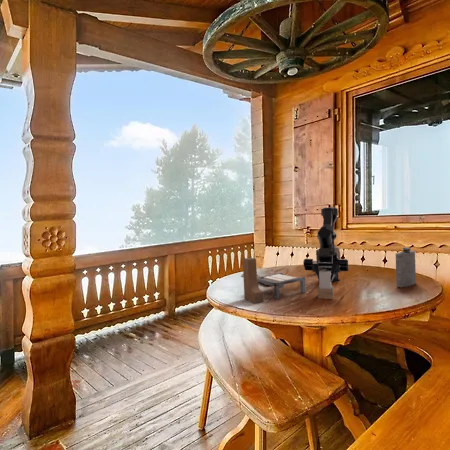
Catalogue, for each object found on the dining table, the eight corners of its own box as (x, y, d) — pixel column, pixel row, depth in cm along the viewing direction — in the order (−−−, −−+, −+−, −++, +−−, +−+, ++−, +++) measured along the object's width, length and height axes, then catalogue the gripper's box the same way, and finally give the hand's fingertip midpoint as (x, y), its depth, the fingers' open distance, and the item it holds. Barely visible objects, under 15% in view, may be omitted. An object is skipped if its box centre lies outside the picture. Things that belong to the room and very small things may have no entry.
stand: (319, 294, 139) (319, 285, 138) (333, 295, 136) (333, 286, 136) (318, 298, 133) (317, 289, 133) (332, 299, 131) (332, 289, 131)
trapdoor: (278, 287, 137) (278, 281, 137) (261, 283, 147) (261, 277, 147) (297, 283, 144) (297, 277, 143) (279, 279, 154) (279, 273, 154)
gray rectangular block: (320, 286, 137) (320, 270, 137) (331, 286, 136) (330, 270, 135) (319, 288, 133) (319, 272, 133) (330, 289, 132) (330, 272, 131)
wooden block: (264, 301, 132) (262, 259, 131) (255, 303, 130) (253, 260, 129) (252, 297, 140) (250, 257, 139) (244, 299, 138) (242, 258, 137)
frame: (276, 299, 134) (276, 283, 134) (254, 292, 148) (253, 277, 147) (305, 292, 144) (304, 277, 143) (281, 286, 157) (281, 272, 157)
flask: (418, 283, 150) (417, 246, 149) (403, 288, 142) (402, 249, 141) (410, 282, 153) (409, 245, 152) (395, 287, 145) (394, 248, 144)
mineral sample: (339, 270, 191) (338, 245, 190) (343, 271, 187) (343, 246, 186) (315, 273, 186) (314, 248, 185) (319, 274, 182) (319, 248, 181)
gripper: (303, 241, 141) (300, 269, 131) (347, 240, 134) (347, 270, 124) (306, 255, 149) (303, 284, 139) (348, 256, 141) (348, 285, 132)
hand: (325, 281), depth 133 cm, fingers closed on gray rectangular block, 4 cm apart
